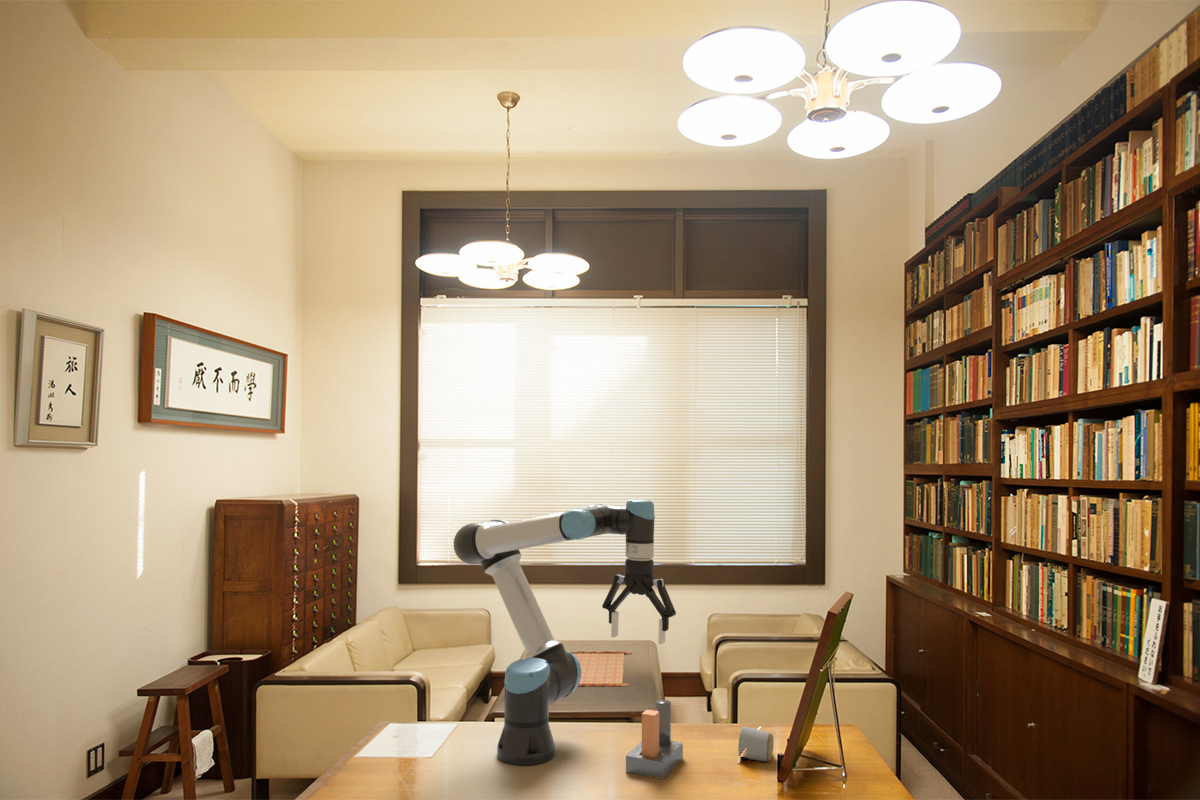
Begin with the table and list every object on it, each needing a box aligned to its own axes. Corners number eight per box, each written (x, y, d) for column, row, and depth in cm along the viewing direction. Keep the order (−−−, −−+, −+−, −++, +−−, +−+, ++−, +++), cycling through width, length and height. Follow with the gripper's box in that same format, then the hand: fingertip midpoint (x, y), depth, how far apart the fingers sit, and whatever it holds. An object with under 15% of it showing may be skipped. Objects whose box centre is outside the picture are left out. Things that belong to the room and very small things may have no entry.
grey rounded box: (769, 766, 201) (769, 735, 201) (737, 761, 204) (737, 731, 204) (776, 752, 210) (776, 722, 211) (745, 748, 213) (745, 718, 214)
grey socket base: (625, 772, 196) (626, 714, 197) (647, 751, 210) (648, 697, 211) (663, 779, 192) (663, 720, 193) (683, 757, 206) (683, 702, 207)
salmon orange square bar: (641, 770, 197) (641, 713, 198) (646, 765, 200) (646, 709, 201) (654, 773, 196) (654, 715, 197) (659, 768, 199) (659, 711, 200)
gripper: (591, 556, 212) (589, 636, 211) (678, 564, 201) (677, 649, 199) (603, 552, 219) (602, 630, 217) (688, 560, 207) (687, 642, 206)
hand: (637, 639), depth 208 cm, fingers open, 13 cm apart
